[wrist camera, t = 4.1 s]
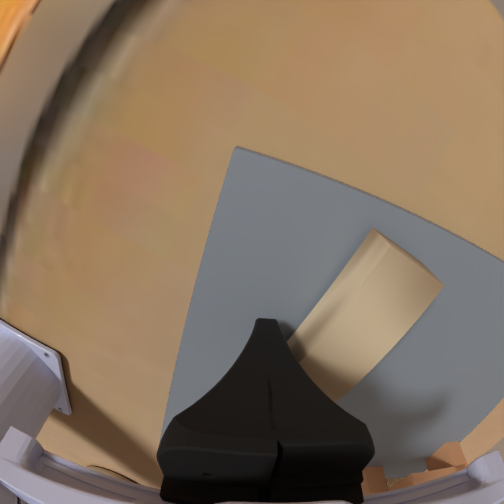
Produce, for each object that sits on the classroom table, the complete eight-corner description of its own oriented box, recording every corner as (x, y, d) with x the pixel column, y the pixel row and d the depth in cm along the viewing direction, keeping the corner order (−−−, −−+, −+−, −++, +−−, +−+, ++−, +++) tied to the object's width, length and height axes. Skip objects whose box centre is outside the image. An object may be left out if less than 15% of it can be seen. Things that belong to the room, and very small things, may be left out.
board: (161, 441, 20) (157, 453, 18) (237, 146, 11) (234, 147, 10) (416, 466, 22) (419, 475, 21) (558, 296, 13) (566, 304, 12)
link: (238, 466, 18) (236, 487, 16) (172, 444, 17) (166, 467, 15) (436, 274, 11) (458, 296, 10) (350, 211, 11) (367, 229, 9)
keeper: (350, 466, 21) (357, 511, 16) (385, 434, 18) (399, 485, 14) (419, 462, 21) (430, 499, 17) (454, 432, 19) (470, 471, 15)
